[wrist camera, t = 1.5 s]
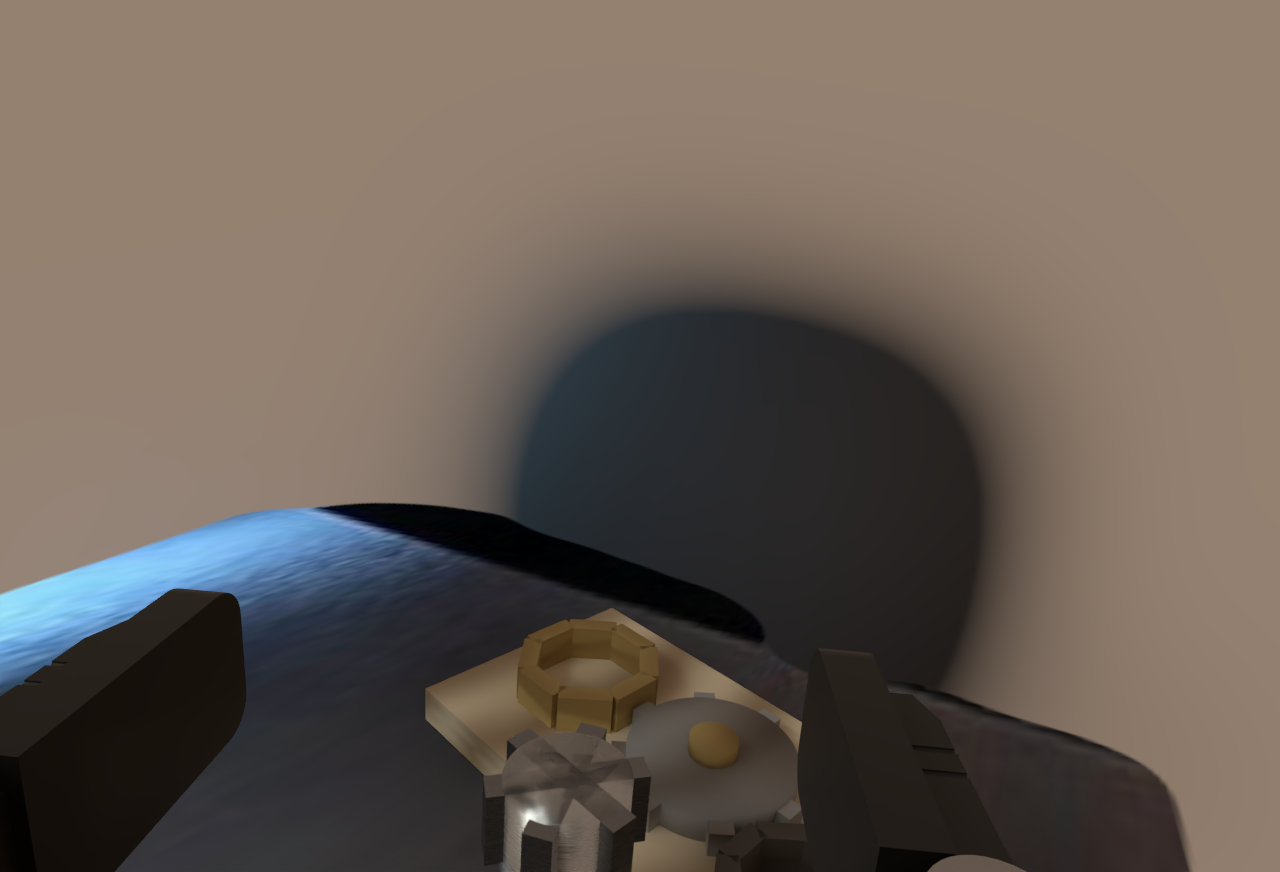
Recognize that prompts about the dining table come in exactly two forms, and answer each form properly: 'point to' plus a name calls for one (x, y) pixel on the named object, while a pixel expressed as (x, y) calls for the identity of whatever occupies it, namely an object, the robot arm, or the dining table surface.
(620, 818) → the pinion shaft
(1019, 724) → the dining table surface
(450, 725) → the gear board
